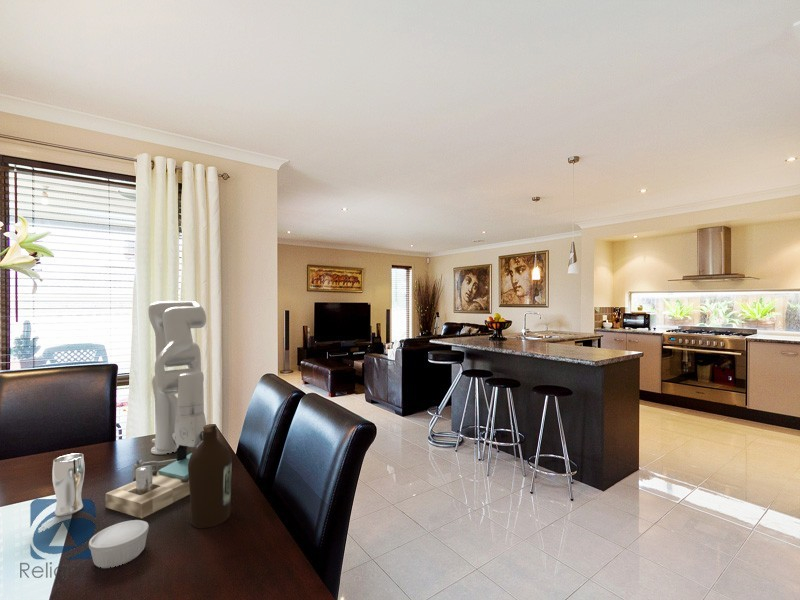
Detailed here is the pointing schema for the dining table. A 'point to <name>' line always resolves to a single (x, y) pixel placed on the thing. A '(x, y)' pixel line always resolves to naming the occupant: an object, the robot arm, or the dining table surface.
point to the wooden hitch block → (148, 495)
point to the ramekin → (118, 543)
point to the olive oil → (210, 480)
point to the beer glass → (68, 483)
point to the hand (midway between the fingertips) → (192, 461)
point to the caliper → (152, 463)
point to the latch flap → (177, 468)
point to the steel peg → (144, 480)
